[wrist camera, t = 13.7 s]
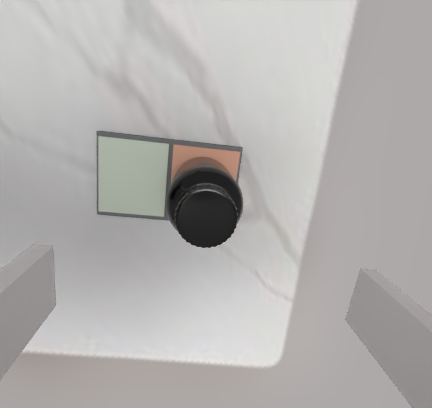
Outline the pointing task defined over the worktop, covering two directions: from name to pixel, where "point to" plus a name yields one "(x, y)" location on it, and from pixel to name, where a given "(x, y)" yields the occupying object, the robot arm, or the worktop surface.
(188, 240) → the supplement bottle
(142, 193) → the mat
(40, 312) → the robot arm
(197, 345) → the worktop surface
